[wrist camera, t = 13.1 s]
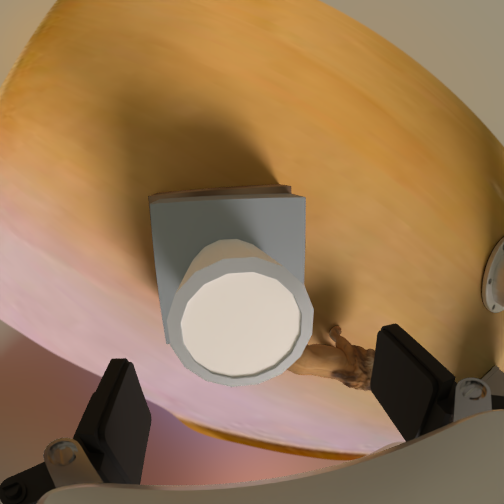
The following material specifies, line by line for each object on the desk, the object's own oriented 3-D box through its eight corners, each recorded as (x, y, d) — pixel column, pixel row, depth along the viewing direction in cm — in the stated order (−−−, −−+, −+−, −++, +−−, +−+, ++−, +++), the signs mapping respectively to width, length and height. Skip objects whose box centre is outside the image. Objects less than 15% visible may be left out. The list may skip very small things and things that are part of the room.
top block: (289, 193, 23) (305, 197, 19) (288, 311, 26) (301, 333, 22) (159, 198, 22) (149, 204, 18) (171, 319, 25) (166, 343, 21)
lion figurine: (371, 317, 32) (414, 357, 24) (357, 356, 33) (393, 402, 25) (245, 306, 30) (260, 356, 21) (236, 351, 31) (247, 408, 22)
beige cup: (165, 243, 19) (145, 279, 12) (269, 217, 20) (303, 239, 13) (194, 335, 21) (193, 400, 14) (288, 311, 21) (322, 366, 15)
